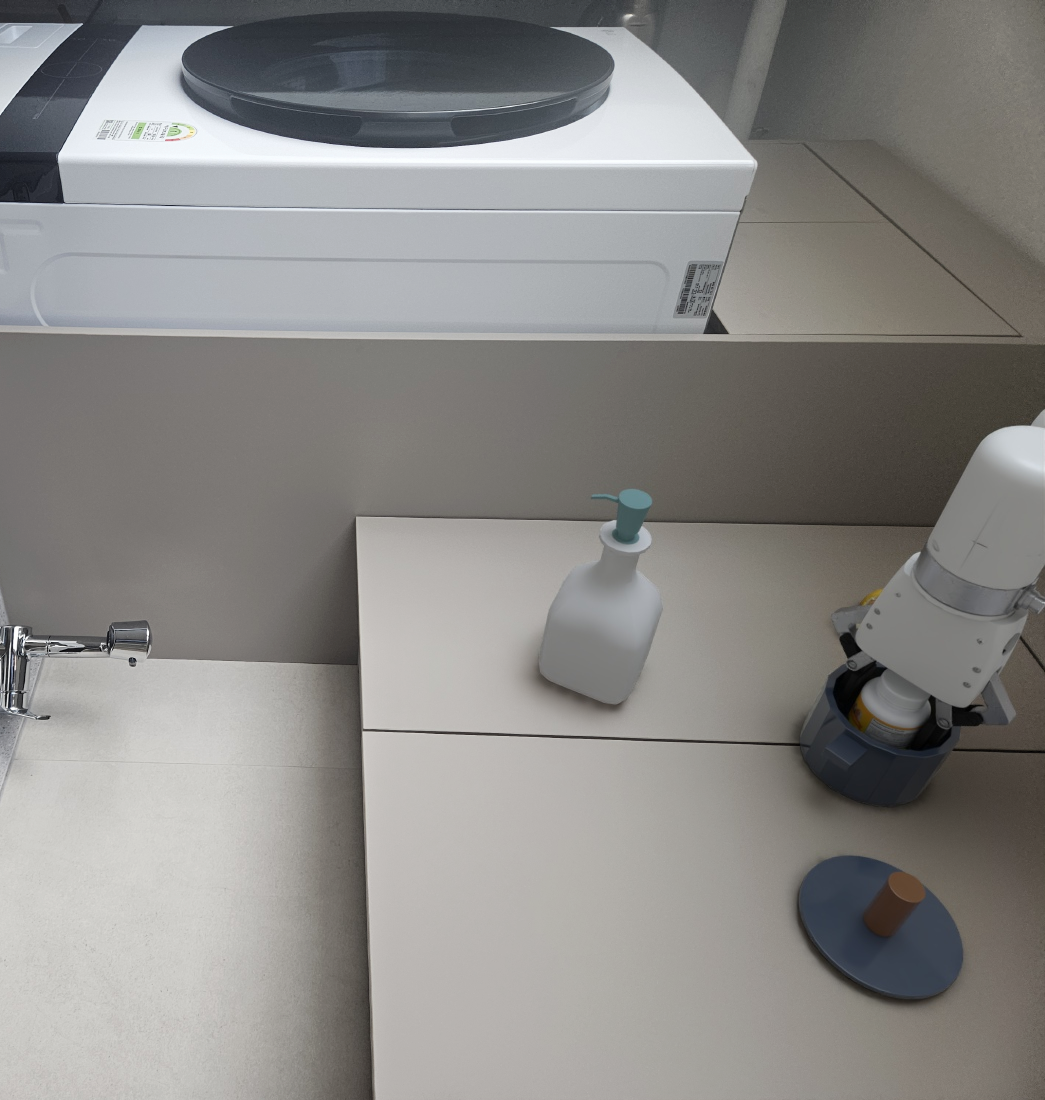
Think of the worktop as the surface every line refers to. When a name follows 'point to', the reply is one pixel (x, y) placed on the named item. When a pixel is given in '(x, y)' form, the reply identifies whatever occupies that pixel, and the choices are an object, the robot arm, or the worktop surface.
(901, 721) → the supplement bottle
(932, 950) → the lid
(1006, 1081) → the worktop surface
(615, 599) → the soap bottle
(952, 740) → the pot
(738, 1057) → the worktop surface
